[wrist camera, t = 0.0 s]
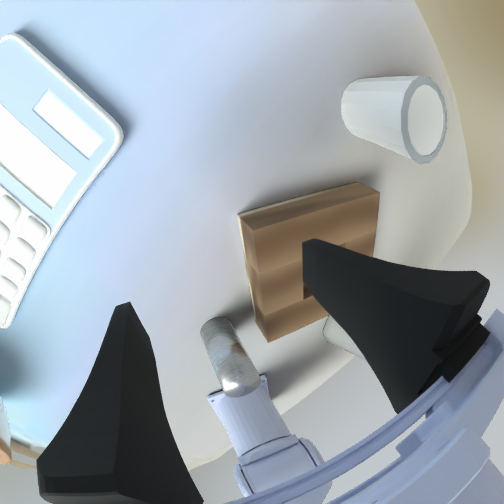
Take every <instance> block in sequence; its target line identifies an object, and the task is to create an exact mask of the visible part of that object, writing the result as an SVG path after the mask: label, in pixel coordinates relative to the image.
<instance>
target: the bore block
mask: <svg viewBox="0 0 504 504" xmlns="http://www.w3.org/2000/svg"><path fill="white" fill-rule="evenodd" d="M379 197H380V192H378V191H376V190H374V189H371V188H369V187H367V186H365V185H363V184H360V183H358V182H356V183H352V184H348V185H343V186H339V187H336V188H332V189H328V190H324V191H320V192H316V193H312V194H308V195H305V196H301V197H297V198H294V199H290V200H286V201H283V202H279V203H275V204H272V205H268V206H265V207H261V208H258V209H254V210H251V211H247V212H244V213H241V214H237V216H238V222H239V228H240V234H241V240H242V246H243V252H244V258H245V264H246V270H247V276H248V282H249V288H250V293H251V299H252V305H253V311H254V317H255V322H256V324H257V326H258V327H259V329H260V330H261V332H262V334H263V335H264V337H265V338H266V340H267V342H268V343H269V342H271V341H273V340H276V339H278V338H280V337H283V336H285V335H287V334H289V333H292V332H294V331H296V330H298V329H300V328H303V327H305V326H307V325H309V324H311V323H313V322H315V321H318V320H320V319H322V318H324V317H326V316H328V315H330V314H329V313H328V312H327V311H326V310H325V309H324V308H323V307H322V306H321V305H320V304H319V302H318V301H317V300H316V299H315V298H314V296H313V295H312V294H311V292H310V291H309V289H308V288H307V286H306V285H305V283H304V282H303V263H302V242H305V241H307V240H310V239H313V238H316V239H320V240H323V241H326V242H329V243H332V244H335V245H338V246H341V247H344V248H346V249H349V250H352V251H355V252H358V253H361V254H364V255H367V256H370V257H373V252H374V244H375V236H376V228H377V219H378V209H379Z"/></svg>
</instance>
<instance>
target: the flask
mask: <svg viewBox="0 0 504 504" xmlns="http://www.w3.org/2000/svg"><path fill="white" fill-rule="evenodd" d="M323 334H324V336H325V338H326V340H327V341H328V342H329V343H331V344H333V345H335V346H338V347H340V348H342V349H344V350H346V351H348V352H350V353H352V354H354V355H356V356H358V357H360V358H362V359H364V360H365V361H366V362H367V360H366V359H365V357H364V356H363V354H362V353H361V351H360V350H359V349H358V347H357V346H356V344H355V343H354V342H353V340H352V339H351V338H350V336H349V335H348V334H347V333H346V332H345V331H344V330H343V328H342V327H341V326H340V325H339V324H338V323H337V322H336V321H335V320H334V319H333V318H332V317H331V315H329V317H328V319H327V322H326V325H325V327H324V330H323Z"/></svg>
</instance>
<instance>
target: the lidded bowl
mask: <svg viewBox="0 0 504 504" xmlns="http://www.w3.org/2000/svg"><path fill="white" fill-rule="evenodd" d="M10 462H11V450H10V426H9V419H8V414H7V410H6V407H5V405H4V402H3V400H2V398H1V396H0V464H8V463H10Z"/></svg>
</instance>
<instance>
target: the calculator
mask: <svg viewBox="0 0 504 504" xmlns="http://www.w3.org/2000/svg"><path fill="white" fill-rule="evenodd" d="M123 138H124V134H123V130H122V128H121V127H120V125H119V124H118V123H117V121H116V120H115V119H114V118H113V117H112V116H111V115H110V114H108V113H107V112H106V111H105V110H104V109H103V108H102V107H101V106H100V105H99V104H97V103H96V102H95V101H94V100H93V99H92V98H91V97H90V96H89V95H88V94H86V93H85V92H84V91H83V90H82V89H81V88H80V87H79V86H78V85H76V84H75V83H74V82H73V81H72V80H71V79H70V78H69V77H68V76H66V75H65V74H64V73H63V72H62V71H61V70H60V69H59V68H58V67H56V66H55V65H54V64H53V63H52V62H51V61H50V60H49V59H47V58H46V57H45V56H44V55H43V54H42V53H41V52H40V51H39V50H37V49H36V48H35V47H34V46H33V45H32V44H31V43H29V42H28V41H27V40H26V39H25V38H23V37H22V36H21V35H19V34H16V33H10V34H7V35H6V36H4V37H3V38H2V39H1V40H0V328H3V329H6V328H8V327H9V326H10V325H11V323H12V321H13V319H14V317H15V314H16V312H17V310H18V307H19V305H20V303H21V300H22V298H23V296H24V294H25V292H26V290H27V288H28V285H29V283H30V281H31V279H32V277H33V275H34V273H35V272H36V270H37V268H38V266H39V264H40V262H41V260H42V258H43V257H44V255H45V253H46V251H47V250H48V248H49V246H50V244H51V243H52V241H53V239H54V238H55V236H56V234H57V233H58V231H59V230H60V228H61V226H62V225H63V223H64V222H65V220H66V219H67V217H68V216H69V214H70V213H71V211H72V210H73V208H74V207H75V205H76V204H77V203H78V201H79V200H80V198H81V197H82V196H83V194H84V193H85V191H86V190H87V189H88V187H89V186H90V185H91V183H92V182H93V181H94V179H95V178H96V177H97V176H98V174H99V173H100V172H101V171H102V169H103V168H104V167H105V166H106V164H107V163H108V162H109V161H110V159H111V158H112V157H113V155H114V154H115V153H116V152H117V150H118V149H119V147H120V145H121V144H122V142H123ZM6 242H7V243H6ZM12 245H13V246H12ZM16 294H17V295H16Z"/></svg>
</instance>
